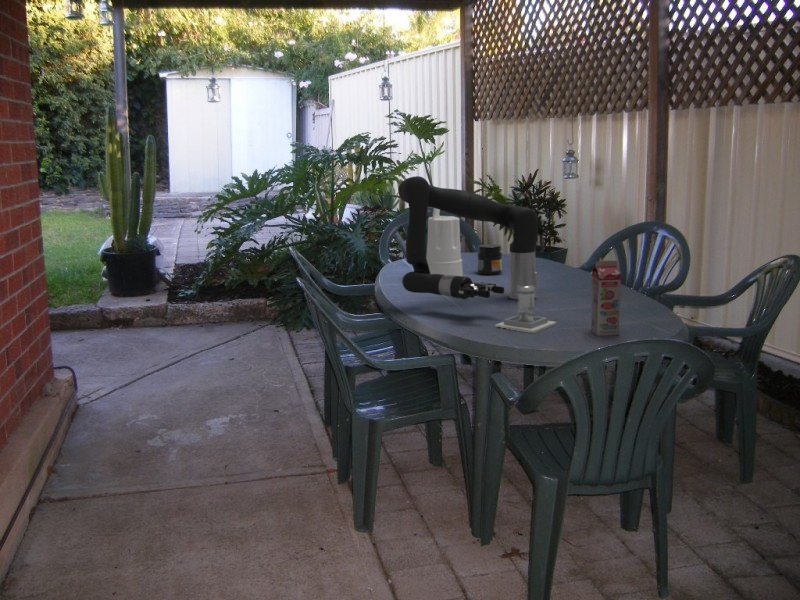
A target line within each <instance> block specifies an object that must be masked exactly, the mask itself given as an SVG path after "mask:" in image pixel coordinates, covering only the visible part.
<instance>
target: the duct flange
mask: <svg viewBox="0 0 800 600" xmlns="http://www.w3.org/2000/svg"><path fill="white" fill-rule="evenodd" d="M517 315H518V314H515V315H513V316H511V317H508V318H504V319H503V321H502V322H499V323H496V324H494V328H497V327H501V328H500V329H503V328H506V329H505V330H509V329H510V331H515V330H516V331H515V332H522V333H523V332H524V333H528V334H535V333H538V332H541V331H543V330H546V329H548V328H551V327H553V326H556V325H557V321H552V320H549V318H548V317H544V316H538V315H537V316H536V315H534V322H531V323H528V322H521V321H517Z"/></svg>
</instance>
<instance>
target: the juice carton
mask: <svg viewBox="0 0 800 600" xmlns="http://www.w3.org/2000/svg"><path fill="white" fill-rule="evenodd" d="M618 263H619V261H618V260H610V261H608V260H607V261H605V260H604V261H599V260H598V261H597V260H595V266H594V268H593V269H592V270H591V297H590V298H591V301H590V302H591V304H590V305H591V307H590V308H591V309H590V310H591V311H590V331H591V332H592V333H593V334H595V335H596V336H598V337H599V336H617V335H618V336H619V335H620V316H621V315H620V312H621V288H622V286H621V285H622V284H621V283H622V282H621V281H622V273H621V271H620V269H619V267H618Z"/></svg>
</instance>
